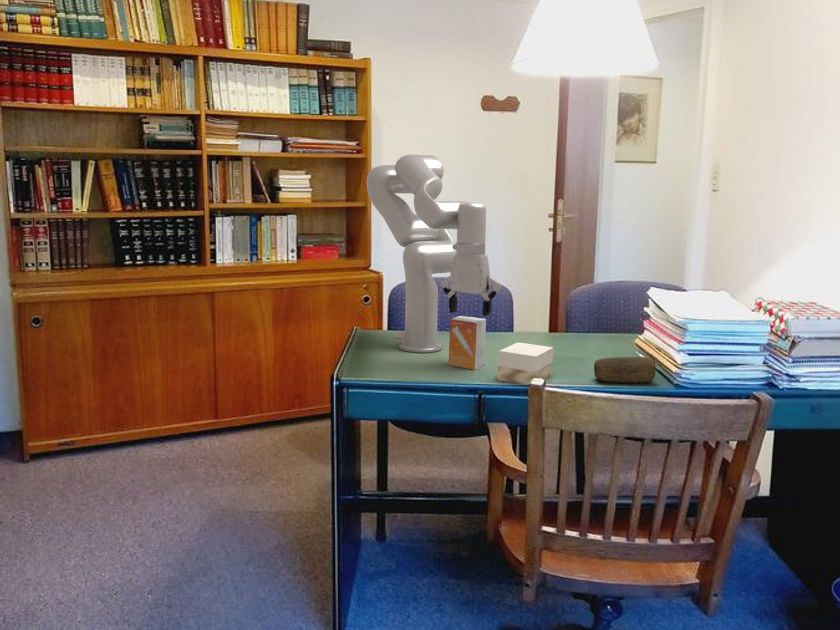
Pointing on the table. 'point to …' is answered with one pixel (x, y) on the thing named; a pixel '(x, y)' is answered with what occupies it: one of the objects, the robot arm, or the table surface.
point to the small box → (467, 342)
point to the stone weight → (625, 369)
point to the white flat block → (526, 357)
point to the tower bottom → (522, 374)
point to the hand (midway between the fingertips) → (469, 313)
